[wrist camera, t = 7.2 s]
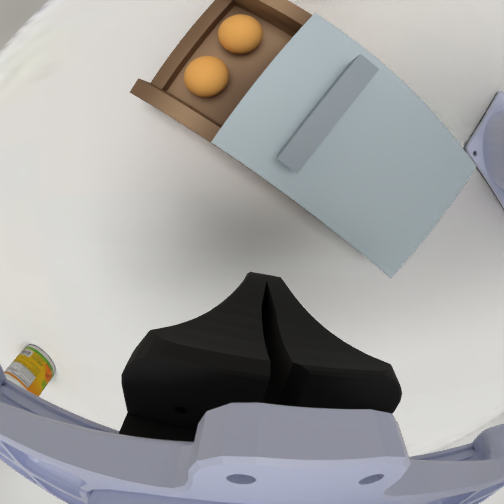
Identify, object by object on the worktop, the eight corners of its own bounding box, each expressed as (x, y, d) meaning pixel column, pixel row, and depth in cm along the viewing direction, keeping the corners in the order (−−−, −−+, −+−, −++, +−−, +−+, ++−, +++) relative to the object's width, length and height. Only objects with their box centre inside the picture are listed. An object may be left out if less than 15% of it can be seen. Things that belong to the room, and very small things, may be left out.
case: (391, 102, 17) (415, 98, 14) (311, 206, 21) (320, 220, 17) (233, -6, 15) (226, -29, 11) (152, 98, 18) (129, 92, 15)
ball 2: (271, 36, 16) (272, 21, 13) (247, 65, 16) (243, 54, 14) (237, 17, 15) (233, 1, 12) (213, 45, 16) (204, 33, 13)
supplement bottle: (51, 379, 31) (20, 426, 22) (24, 354, 30) (-11, 398, 21) (59, 364, 30) (23, 416, 21) (29, 336, 28) (-11, 384, 19)
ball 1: (239, 74, 17) (235, 64, 14) (215, 107, 18) (206, 102, 15) (206, 54, 16) (196, 43, 14) (182, 87, 17) (169, 80, 15)
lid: (471, 165, 15) (494, 171, 13) (387, 274, 18) (402, 293, 16) (313, 16, 12) (320, -1, 10) (212, 142, 16) (203, 143, 13)
